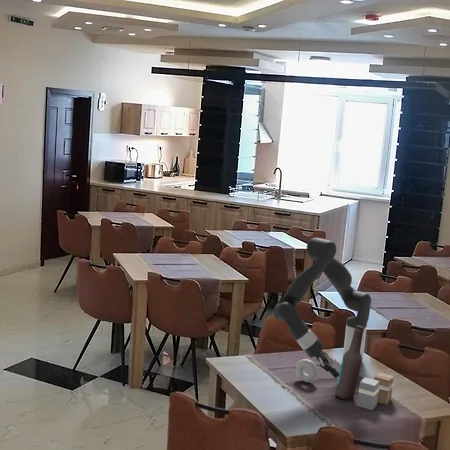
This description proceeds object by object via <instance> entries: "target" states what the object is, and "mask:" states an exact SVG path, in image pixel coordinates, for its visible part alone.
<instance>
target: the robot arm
mask: <svg viewBox="0 0 450 450" xmlns="http://www.w3.org/2000/svg"><path fill="white" fill-rule="evenodd" d="M306 253H307V254H308V257H309V258H310V259H311V260H312V261H313V262H314V263H313V264H312V265H311V266H309V267H308V268H307V269H305V270H304V271H302V272H300V273H299V274H298V275H297V276H296V277H295V278H294V279H293V280H292V282H291V283H290V285H289V287H288V288H287V290H286V292H285V293H284V294H283V295H282V296H281V298H280V299H279V300H278V301H277V303H276V305H275V306H274V308H273V313H272V314H273V317H274V318H275V319H276V320H277V321H278V322H279V321H280V322H283V321H284V322H285V324H286V325H287V326H288V332H289V333H290V334H291V336H292V337H293V338H294V339H295V341H296V342H297V344H298V345H299V346H300V347H301V349H302V350H303V351H304V353H305V354H306V355H307V356H308V357H309V358H310V359H311V358H314V357H315V358H316V362H317V363H318V364H319V366H320V368H322V369H323V370H324V371H326V372H329V373H330V374H331V375H332V377H333V378H334V379H338V377H339V373H340V372H339V371H338V370H337V369H336V368H335V367H334V362H333V361H332V359H331V358H330V356H329V354H328V352H326V351H323V350H324V348H325V344H323V342H322V341H321V340H320V339H319V337H318V336H317V335H316V334H315V333H314V331H312V330H311V328H309V326H308V325H307V324H306V323H305V322H304V320H303V319H302V316H301V315H300V313H299V312H298V310H297V308H296V306H297V305H298V304H299V303H300V302H302V300H303V298H304V297H305V295H306V293H307V292H308V290H309V288H310V287H311V286H312V284H313V283H314V282H315V281H316V280H317V279H318V277H319V276H320V275H321V274H322V273H323V274H324V275H325V276H326V278H327V279H328V281H329V282H330V284H331V285H332V286H333V287H334V289H335V290H336V291H337V292H338V294H339V296H340V298H341V299H342V302H343V303H344V306H345V308H347V309H349V310H351V311H354V312H356V316H349V317H347V319H346V324H345V333H344V344H343V351H342V357H343V356H344V354H345V353H346V352H347V351H348V350H349V349H350V346H351V342H352V339H353V335H354V332H355V328H356V325H360V326H363V327H364V332H363V336H362V342H361V348H360V353H361V356H362V364H363V362H364V352H365V344H366V343H365V342H366V337H367V336H366V334H367V327H368V326H367V325H368V322H369V318H370V312H371V307H372V306H371V305H372V297H371V295H370V294H369V293H367V292H363V291H361V290H356V289H354V288H353V287H352V281H353V277H352V274H351V273H350V271H349V270H348V269H347V267H346V266H345V264H343V263H341V261H339V260H338V259H336V258H335V256H336V254H337V244H336V243H335V242H333V241H332V240H330V239H329V240H328V239H325V238H320V237H313V238H311V239H309V240H308V242H307V244H306Z"/></svg>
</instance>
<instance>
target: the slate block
mask: <svg viewBox="0 0 450 450" xmlns="http://www.w3.org/2000/svg"><path fill="white" fill-rule="evenodd" d="M379 383H380V381H377V380H374V379H373V378H369V377H364V378H362V380H359V386H358V395H357V396H358V397H357V405H356V406H357V407H360V408H363V409H367V410H369V411H373V410H374V409H375V408H376V407H377V405H378V402H377V400H378V392H379Z"/></svg>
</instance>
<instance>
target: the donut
mask: <svg viewBox="0 0 450 450" xmlns="http://www.w3.org/2000/svg"><path fill="white" fill-rule="evenodd" d="M304 368H308V370H309V374H308V373H306V372H305V370H304ZM295 373H296V376H297V378H298V379H299V380H300V381H302V382H304V383H313V382H314V381H316V379H317V377H318V375H319V370H318V367H317V365H316V363H315V362H313V360H310V359H309V358H303V359H301V360H298V362H297V364H296V366H295Z"/></svg>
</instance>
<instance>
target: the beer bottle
mask: <svg viewBox="0 0 450 450" xmlns="http://www.w3.org/2000/svg"><path fill="white" fill-rule="evenodd" d="M363 332H364V327H363V326H360V325H356V328H355V332H354V335H353V339H352V342H351V346H350V349H349V350H348V351H347V352H346V353H345V354H344V356H343V355H342V361H341V365H340V370H339V372H338V373H339V376H338V377H337V382H336V387H335V396H337V397H338V398H340V399H342V400H346V401H348V400H353V399H354V398H355V394H356V389H357V385H358V380H359V376H360V372H361V367H362V364H363V363H362V356H361V353H360V348H361V342H362V336H363Z"/></svg>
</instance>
